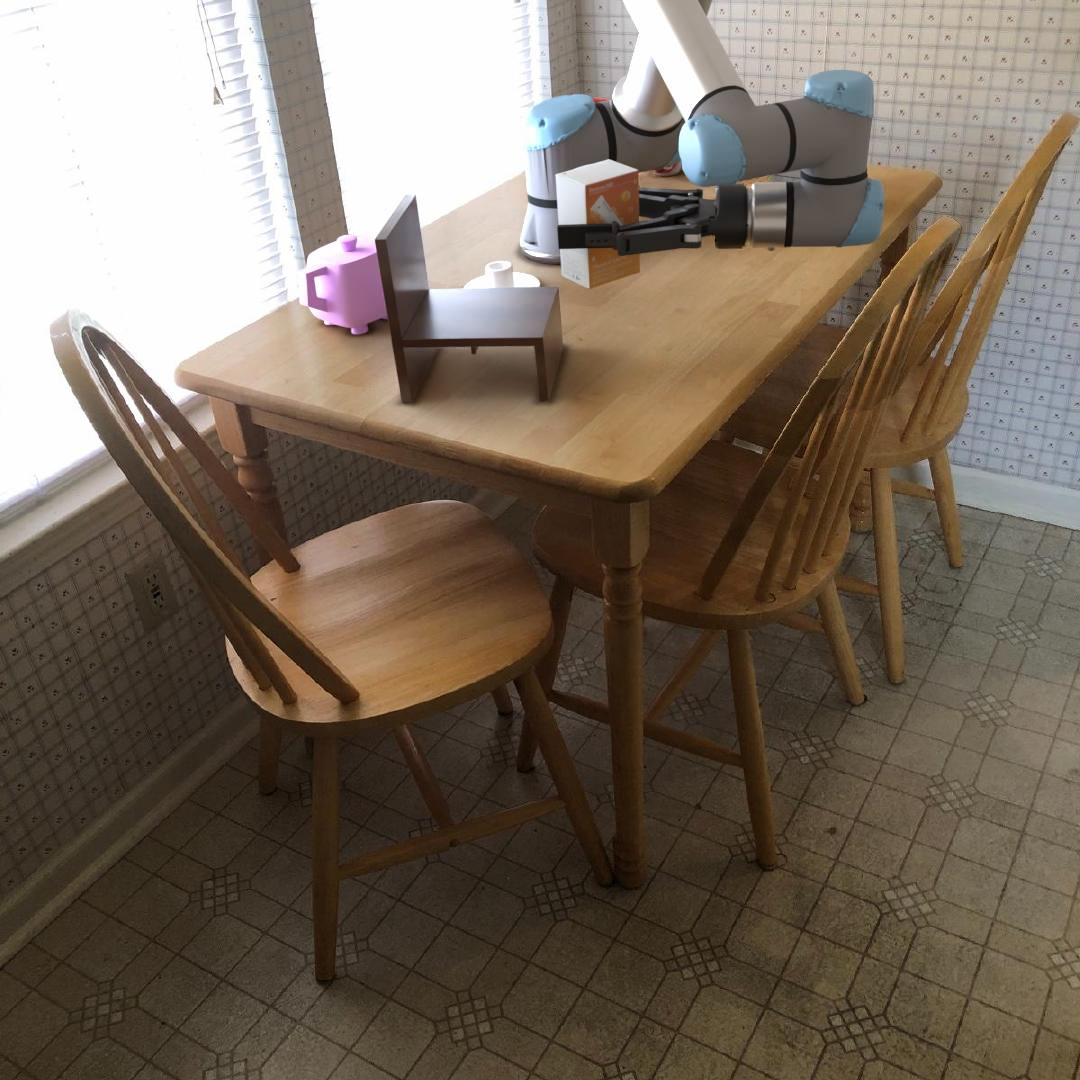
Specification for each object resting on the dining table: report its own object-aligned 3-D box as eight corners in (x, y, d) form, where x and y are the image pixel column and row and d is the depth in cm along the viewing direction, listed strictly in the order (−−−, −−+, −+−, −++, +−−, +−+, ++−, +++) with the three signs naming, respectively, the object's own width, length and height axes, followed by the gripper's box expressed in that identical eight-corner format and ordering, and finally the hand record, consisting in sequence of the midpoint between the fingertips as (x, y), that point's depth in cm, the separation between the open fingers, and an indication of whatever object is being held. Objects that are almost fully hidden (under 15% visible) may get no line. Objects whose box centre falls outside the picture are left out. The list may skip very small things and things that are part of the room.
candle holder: (483, 274, 181) (480, 248, 178) (552, 279, 176) (550, 253, 174) (450, 303, 172) (447, 276, 169) (522, 310, 168) (519, 283, 165)
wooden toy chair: (428, 348, 159) (405, 195, 147) (563, 347, 156) (551, 190, 144) (401, 402, 146) (374, 239, 134) (548, 402, 143) (534, 235, 131)
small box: (589, 291, 137) (584, 185, 129) (560, 276, 141) (553, 173, 134) (642, 273, 140) (639, 168, 133) (611, 259, 145) (607, 157, 137)
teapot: (339, 352, 161) (322, 267, 153) (285, 332, 168) (267, 250, 160) (438, 303, 172) (427, 222, 165) (384, 287, 179) (371, 209, 172)
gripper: (748, 282, 127) (554, 286, 131) (745, 214, 145) (574, 219, 149) (750, 218, 123) (549, 224, 126) (747, 156, 141) (571, 162, 144)
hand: (563, 221), depth 137 cm, fingers closed on small box, 10 cm apart
